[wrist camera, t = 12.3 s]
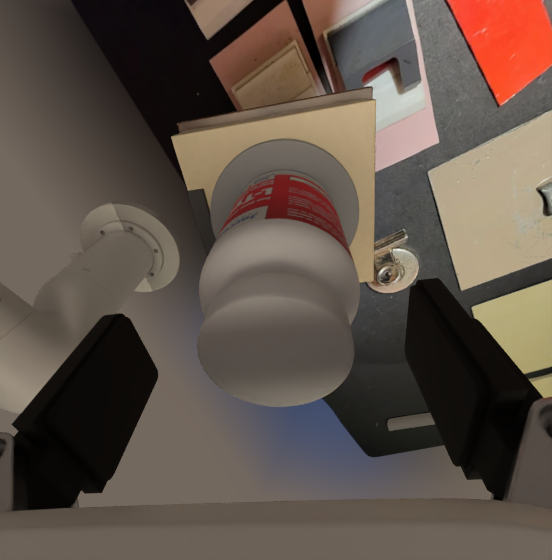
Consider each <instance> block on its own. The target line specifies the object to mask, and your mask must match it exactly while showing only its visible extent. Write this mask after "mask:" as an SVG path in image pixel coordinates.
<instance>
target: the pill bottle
mask: <svg viewBox="0 0 552 560" xmlns="http://www.w3.org/2000/svg"><path fill="white" fill-rule="evenodd" d="M199 298H200V303H201V308H202V311H203V314H204V316H205V318H204V321H203V324H202V327H201V330H200V333H199V336H198V344H197V349H198V356H199V360H200V363H201V365H202V367H203V369H204V371H205V372H206V374H207V375H208V376H209V377H210V379H211V380H212V381H214V383H215V384H216V385H218V386H219V387H220V388H222V389H223V390H224V391H226V392H228V393H229V394H231V395H233V396H235V397H237V398H240V399H242V400H244V401H247V402H251V403H255V404H259V405H265V406H275V407H281V406H282V407H283V406H295V405H301V404H306V403H310V402H312V401H315V400H318V399H320V398H322V397H324V396H326V395H328V394H329V393H331V392H333V391H334V390H335V389H336V388H337V387H338V386H339V385H340V384H341V383H342V382H343V381H344V380H345V379H346V377H347V376H348V374H349V372H350V370H351V367H352V364H353V360H354V343H353V339H352V334H351V328H350V325H351V323H352V321H353V320H354V318H355V315H356V313H357V309H358V305H359V300H360V284H359V279H358V274H357V270H356V267H355V264H354V261H353V258H352V255H351V252H350V249H349V246H348V243H347V240H346V237H345V235H344V232H343V229H342V226H341V223H340V220H339V217H338V214H337V211H336V209H335V206H334V203H333V201H332V200H331V198H330V196H329V194H328V193H327V191H326V190H325V189H324V188H323V187H322V186H321V185H320V184H319V183H318V182H317V181H315V180H314V179H312V178H311V177H309V176H307V175H305V174H302V173H299V172H294V171H286V170H281V171H273V172H269V173H266V174H264V175H262V176H259V177H258V178H256V179H254V180H253V181H252V182H250V183H249V184H248V185H247V186H246V187H245V188H244V189H243V191H242V192H241V194H240V195H239V197H238V198H237V200H236V202H235V204H234V206H233V208H232V210H231V212H230V213H229V216H228V217H227V220H226V222H225V223H224V225H223V227H222V229H221V231H220V233H219V235H218V237H217V239H216V241H215V243H214V245H213V247H212V249H211V251H210V252H209V254H208V257H207V259H206V261H205V264H204V267H203V269H202V272H201V276H200V283H199Z"/></svg>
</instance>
